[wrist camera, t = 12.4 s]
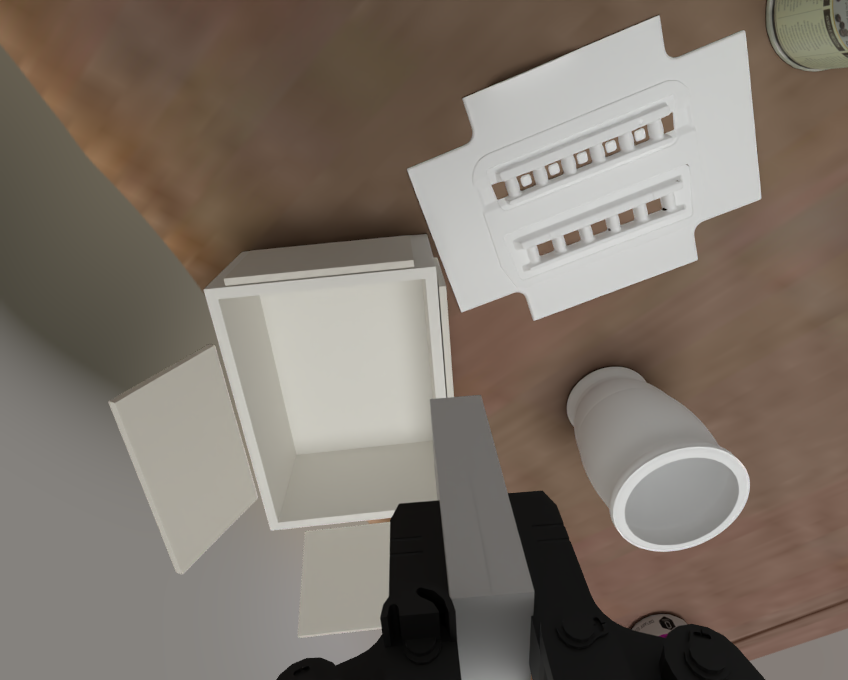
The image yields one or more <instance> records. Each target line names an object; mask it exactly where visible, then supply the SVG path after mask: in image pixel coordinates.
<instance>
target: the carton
mask: <svg viewBox="0 0 848 680" xmlns="http://www.w3.org/2000/svg"><path fill="white" fill-rule="evenodd" d="M204 293H205V297H206V300H207V304H208V307H209V311H210V314H211V318H212V322H213V325H214V329H215V332H216V336H217V340H218V343H219V347H220V350H221V354H222V358H223V361H224V365H225V368H226V372H227V375H228V379H229V382H230V386H231V390H232V393H233V397H234V401H235V404H236V408H237V411H238V415H239V419H240V422H241V426H242V429H243V433H244V437H245V440H246V444H247V447H248V451H249V454H250V458H251V461H252V465H253V469H254V472H255V476H256V479H257V483H258V487H259V490H260V494H261V497H262V501H263V504H264V508H265V512H266V515H267V519H268V523H269V526H270V530H271V531H272V530H281V529H290V528H300V527H308V526H318V525H327V524H337V523H346V522H355V521H365V520H374V519H383V518H392V516H393V514H394V512H395V510H396V508H397V506H398V504H400V503H412V502H424V501H437V490H436V479H435V467H434V453H433V438H432V423H431V409H430V399H437V398H450V397H454V392H453V378H452V364H451V350H450V335H449V321H448V307H447V292H446V284H445V281H444V278H443V274H442V271H441V268H440V265H439V261H438V258H434V257H433V254H432V250H431V247H430V243H429V240H428V236H427V234H420V235H405V236H395V237H385V238H375V239H364V240H354V241H344V242H334V243H324V244H313V245H303V246H293V247H283V248H272V249H262V250H252V251H246V252H241V253H240V254H239V255H238V256H237V257H236V258H235V259H234V260H233V261H232V262H231V263H230V264H229V265H228V266H227V267H226V268H225V269H224V270H223V271H222V272H221V273H220V274H219V275H218V276H217V277H216V278H215V279H214V280H213V281H212V282H211V283H210V284H209V285H208V286H207V287H206V288H205V289H204Z"/></svg>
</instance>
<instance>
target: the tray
mask: <svg viewBox="0 0 848 680" xmlns="http://www.w3.org/2000/svg"><path fill="white" fill-rule="evenodd" d="M462 99H463V103H464V106H465V109H466V112H467V115H468V118H469V121H470V124H471V128H472V137H471V140H470V141H469V142H468V143H467V144H465V145H463V146H461V147H458V148H456V149H453V150H451V151H449V152H446V153H444V154H441V155H439V156H436V157H434V158H432V159H429V160H427V161H424V162H422V163H419V164H417V165H415V166H412V167H410V168H407V171H408V174H409V176H410V179H411V182H412V184H413V187H414V190H415V193H416V195H417V198H418V200H419V203H420V206H421V208H422V211H423V214H424V216H425V219H426V221H427V224H428V227H429V229H430V232H431V234H432V237H433V240H434V241H435V245H436V248H437V249H438V253H439V255H440V258H441V260H442V263H443V266H444V268H445V271H446V274H447V277H448V279H449V282H450V284H451V287H452V289H453V292H454V294H455V297H456V299H457V302H458V305H459V308H460V310H461V312H464V311H467V310H470V309H472V308H475V307H478V306H480V305H483V304H486V303H488V302H491V301H493V300H496V299H499V298H501V297H504V296H507V295H509V294H512V293H515V292H520V293H522V294H524V295H525V297H526V300H527V303H528V306H529V309H530V312H531V316H532V319H533V320H538V319H540V318H543V317H546V316H548V315H551V314H554V313H557V312H559V311H562V310H565V309H567V308H570V307H573V306H575V305H578V304H581V303H583V302H586V301H589V300H592V299H594V298H597V297H599V296H602V295H605V294H608V293H610V292H613V291H616V290H618V289H621V288H624V287H626V286H629V285H632V284H634V283H637V282H640V281H643V280H645V279H648V278H651V277H653V276H656V275H659V274H662V273H664V272H667V271H670V270H672V269H675V268H677V267H680V266H683V265H686V264H688V263H691V262H694V261H696V260H698V257H697V250H696V244H695V238H694V231H695V228H696V227H697V225H698V224H699V223H701V222H702V221H705V220H707V219H710V218H713V217H715V216H718V215H721V214H723V213H726V212H729V211H731V210H734V209H737V208H739V207H742V206H744V205H747V204H750V203H752V202H755V201H758V200H760V199H761V188H760V177H759V168H758V157H757V146H756V137H755V126H754V115H753V105H752V95H751V84H750V73H749V63H748V51H747V43H746V34H745V31H744V30H742V31H739V32H737V33H734V34H732V35H729V36H727V37H725V38H722V39H720V40H717V41H715V42H713V43H710V44H708V45H705V46H703V47H700V48H698V49H696V50H693V51H691V52H688V53H686V54H683V55H681V56H679V57H675V58H672V57H670V56H668V55H667V53H666V51H665V47H664V41H663V35H662V28H661V22H660V16H659V15H658V16H656V17H653V18H651V19H649V20H646V21H644V22H642V23H639V24H637V25H634V26H632V27H630V28H627V29H625V30H622V31H620V32H618V33H615V34H613V35H611V36H608V37H606V38H604V39H601V40H599V41H596V42H594V43H592V44H589V45H587V46H585V47H582V48H580V49H578V50H575V51H573V52H570V53H568V54H566V55H563V56H561V57H559V58H556V59H554V60H551V61H549V62H547V63H544V64H542V65H540V66H537V67H535V68H533V69H530V70H528V71H525V72H523V73H521V74H518V75H516V76H514V77H511V78H509V79H506V80H504V81H502V82H499V83H497V84H495V85H492V86H490V87H489V88H486V89H483V90H481V91H478V92H476V93H474V94H472V95H469V96H467V97H465V98H462ZM671 112H673V121H674V130H673V131H670V132H668V133H665V134H663V133H664V130H663V125H662V122H661V118H663V117H665V116H667V115H669V114H670V113H671ZM646 124H647V127H648V134H649V137H650V139H649V140H648V141H646V142H643V143H641V144H638V145H636V146H634V139H633V135H632V133H631V131H632V130H635V129H637V128H639V127H642V126H644V125H646ZM634 135H635V140H636V141H640V140H642V139H644V138H645V130H644V129H643V128H642V129H639V130H637V131H635V133H634ZM617 136H618V140H619V145H620V148H621V151H620V152H618V153H616V154H613V155H611V156H608V157H605V151H604V148H603V145H602V143H603V142H605V141H608V140H610V139H613V138H615V137H617ZM605 147H606V151H607V152H608V153H610V152H612V151H615V150H616V148H617V147H616V142H615V140H612V141H609V142H607V143H606V144H605ZM588 148H589V149H590V155H591V159H592V163H591V164H588V165H586V166H583V167H580V168H578V169H576V162H575V159H574V157H573V154H575V153H578V152H580V151H583V150H585V149H588ZM560 159H561V164H562V168H563V171H564V174H563V175H560V176H558V177H555V178H553V179H550V180H548V176H547V172H546V169H545V165H548V164H550V163H553V162H555V161H558V160H560ZM577 160H578V163H579V164H582V163H585V162H587V161H588V156H587V153H586V152H582V153H579V154H578V155H577ZM686 164H688V165H689V166H688V165H686ZM530 171H533V175H534V179H535V182H536V185H535V186H533V187H530V188H528V189H525V190H523V191H520V187H519V183H518V181H517V179H516V177H517V176H519V175H522V174H525V173H527V172H530ZM549 172H550V175H555V174H557V173H559V172H560V169H559V165H558V163H554V164H552V165H550V166H549ZM677 180H678V181H679V182H678V181H677ZM502 181H504V182H505V185H506V189H507V192H508V194H509V195H508V196H507V197H505V198H502V199H500V200H497V198H496V196H495V193H494V191H493V188H492V186H491V185H492V184H495V183H498V182H502ZM521 183H522V186H527V185H530V184H531V183H532V180H531V177H530V175H529V174H527V175H524V176H522V177H521ZM658 198H660V200H661V205H662V209H663V208H665V209H667V210H666V211H663V210H662V209H661V210H660V211H657V212H654V213H652V214H649V215H648V212H647V207H646V203H648V202H650V201H653V200H655V199H658ZM632 208H633V213H634V217H635V219H634V220H633V221H631V222H628V223H626V224H623V225H620V221H619V217H618V214H619V213H622V212H625V211H627V210H630V209H632ZM604 219H606V225H607V228H609V229H611V231H608V229H607V231H605V232H602V233H600V234H597V235H594V236H593V233H592V229H591V226H590V225H591V224H594V223H596V222H599V221H601V220H604ZM575 230H579V235H580V237H581V240H580V241H579V242H576V243H574V244H571V245H568V246H566V243H565V239H564V236H563V235H565V234H568V233H570V232H573V231H575ZM549 240H552V243H553V246H554V251H553V252H550V253H548V254H545V255H542V256H540V255H539V252H538V248H537V246H536V245H538V244H541V243H544V242H547V241H549Z"/></svg>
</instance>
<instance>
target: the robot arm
mask: <svg viewBox="0 0 848 680" xmlns="http://www.w3.org/2000/svg"><path fill="white" fill-rule="evenodd" d="M430 409H431V423H432V438H433V453H434V467H435V479H436V490H437V501H424V502H412V503H400V504H398V506H397V508H396V510H395V512H394V514H393V516H392V518H391V520H390V560H389V597H388V598H387V600H386V601H385V603H384V604H383V608H382V612H381V616H380V620H381V627H382V635H381V637H380V638H379V640H378V641H377V642H376V643H375V644H374V645H373V646H372V647H371V648H370V649H369V650H367V651H366V652H364V653H362V654H360V655H359V656H357V657H354V658H352V659H350V660H347V661H345V662H343V663H340V664H338V665H336V666H335V665H334V663H332V662H330V661H327V660H325V659H323V658H306V659H303V660H301V661H299V662H296V663H294V664H292V665H291V666H289V667H288V668H287V669H286V670H285V671H284V672H282V673H281V674H280V675H279V677H278V678H277V680H530V679H531V675H532V679H533V680H765V679H764V678H763V676H762V675H761V674H760V673H759V672H758V671H757V670H756V668H755V667H754V666H753V665H752V664H751V663H750V662H749V660H748V659H747V658H746V657H745V656H744V655H743V654H742V652H741V651H740V650H739V649H738V648H737V647H736V646H735V645H734V644H733V643H731V642H730V641H729V640H728V639H727V638H726V637H725V636H723V635H721V634H719V633H718V632H716V631H714V630H712V629H710V628H708V627H703V626H699V625H694V624H688V625H680V626H677V627H676V628H674V629H673V630H671V631H670V632H668V635H667V637H666V638H664V637H660V636H655V635H651V634H646V633H642V632H638V631H634V630H631V629H628V628H625V627H623V626H621V625H619V624H617V623H615V622H614V621H612V620H611V619H610V618H608V617H607V616H606V615H605V614H604V613H603V612H602V611H601V610H600V609H599V608H598V606H597V605H596V604H595V602H594V600H593V598H592V596H591V594H590V591H589V589H588V586H587V583H586V581H585V578H584V576H583V573H582V570H581V568H580V565H579V563H578V560H577V557H576V555H575V552H574V549H573V547H572V544H571V542H570V541H569V536H568V534H567V531H566V529H565V527H564V525H563V521H562V518H561V515H560V513H559V510H558V508H557V505H556V504H555V503H554V502H553V501H552V500H551V499H550V498H549V497H548V496H547V495H546V494H545V493H544V492H543V491H532V492H520V493H507V489H506V485H505V482H504V478H503V474H502V471H501V467H500V463H499V460H498V456H497V452H496V449H495V445H494V441H493V438H492V434H491V430H490V427H489V423H488V419H487V416H486V412H485V408H484V405H483V401H482V397H481V395H475V396H463V397H450V398H437V399H430Z"/></svg>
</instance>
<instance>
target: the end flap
mask: <svg viewBox="0 0 848 680" xmlns="http://www.w3.org/2000/svg"><path fill="white" fill-rule="evenodd" d="M389 560H390V522H386V523H377V524H368V525H358V526H349V527H340V528H330V529H322V530H312V531H305V538H304V553H303V566H302V581H301V595H300V609H299V623H298V637H299V638H302V637H312V636H319V635H320V636H321V635H330V634H339V633H348V632H357V631H366V630H374V629H382V627H381V620H380V616H381V612H382V608H383V604H384V603H385V601H386V600H387V598H388V597H389Z"/></svg>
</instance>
